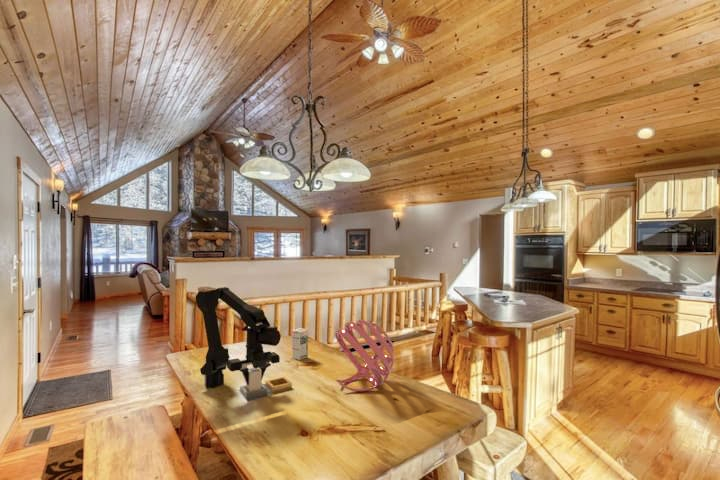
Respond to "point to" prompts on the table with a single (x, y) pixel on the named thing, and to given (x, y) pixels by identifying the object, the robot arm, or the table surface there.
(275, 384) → the panel
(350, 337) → the slotted curved sculpture
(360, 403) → the table surface
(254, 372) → the plug
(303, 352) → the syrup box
